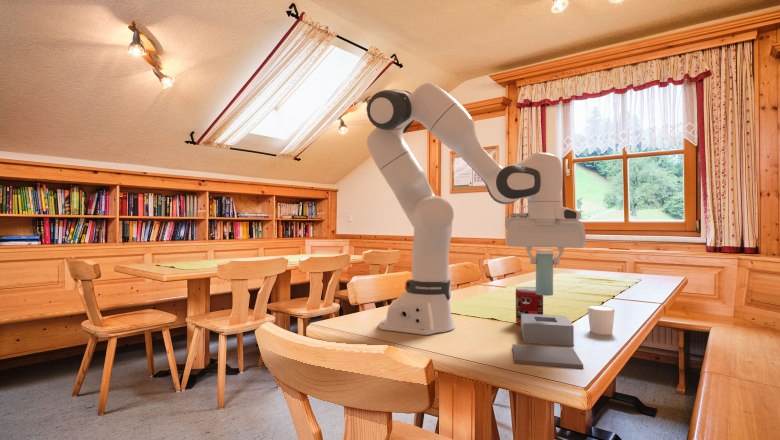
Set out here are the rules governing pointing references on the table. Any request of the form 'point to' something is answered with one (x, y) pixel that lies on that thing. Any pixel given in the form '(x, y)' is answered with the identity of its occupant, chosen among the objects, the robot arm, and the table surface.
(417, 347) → the table surface
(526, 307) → the canned food
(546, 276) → the cylinder
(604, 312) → the white cup
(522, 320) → the block
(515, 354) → the mat
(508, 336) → the table surface
